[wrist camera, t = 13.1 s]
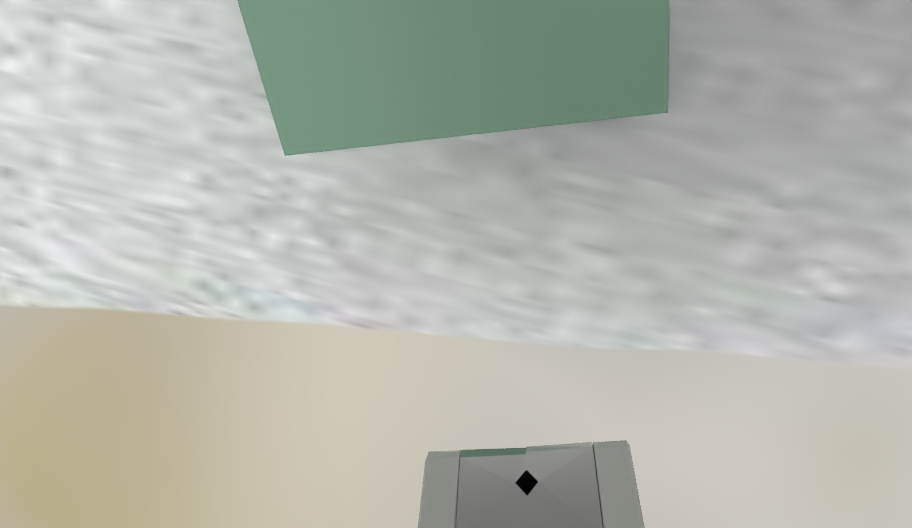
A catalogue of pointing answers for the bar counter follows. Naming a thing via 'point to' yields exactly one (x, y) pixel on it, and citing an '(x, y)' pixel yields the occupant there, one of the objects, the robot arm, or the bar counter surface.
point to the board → (453, 66)
